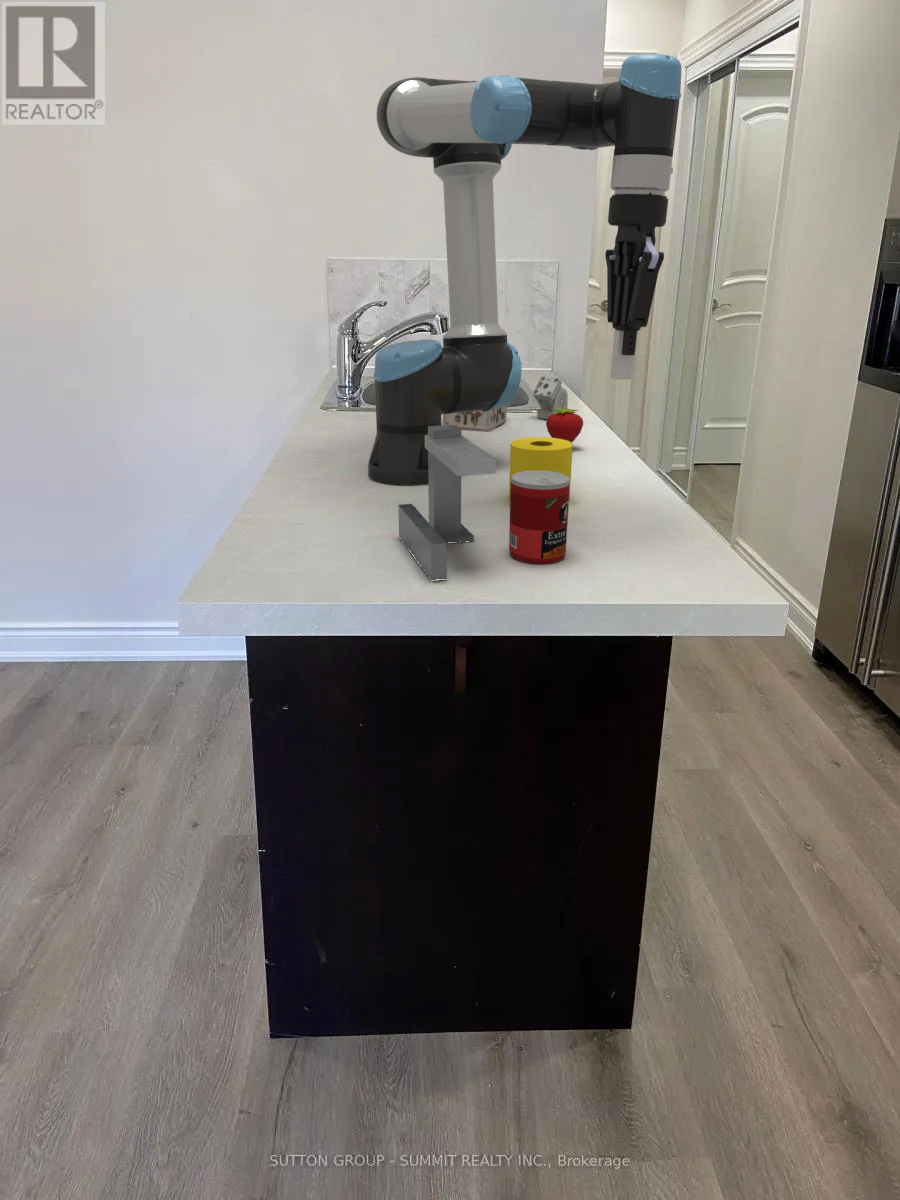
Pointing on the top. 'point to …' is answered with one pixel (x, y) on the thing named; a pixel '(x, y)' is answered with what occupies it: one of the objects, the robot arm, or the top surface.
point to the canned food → (538, 516)
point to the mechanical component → (550, 396)
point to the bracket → (442, 498)
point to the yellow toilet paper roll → (541, 456)
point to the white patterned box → (477, 419)
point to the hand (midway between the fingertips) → (621, 378)
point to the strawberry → (564, 424)
